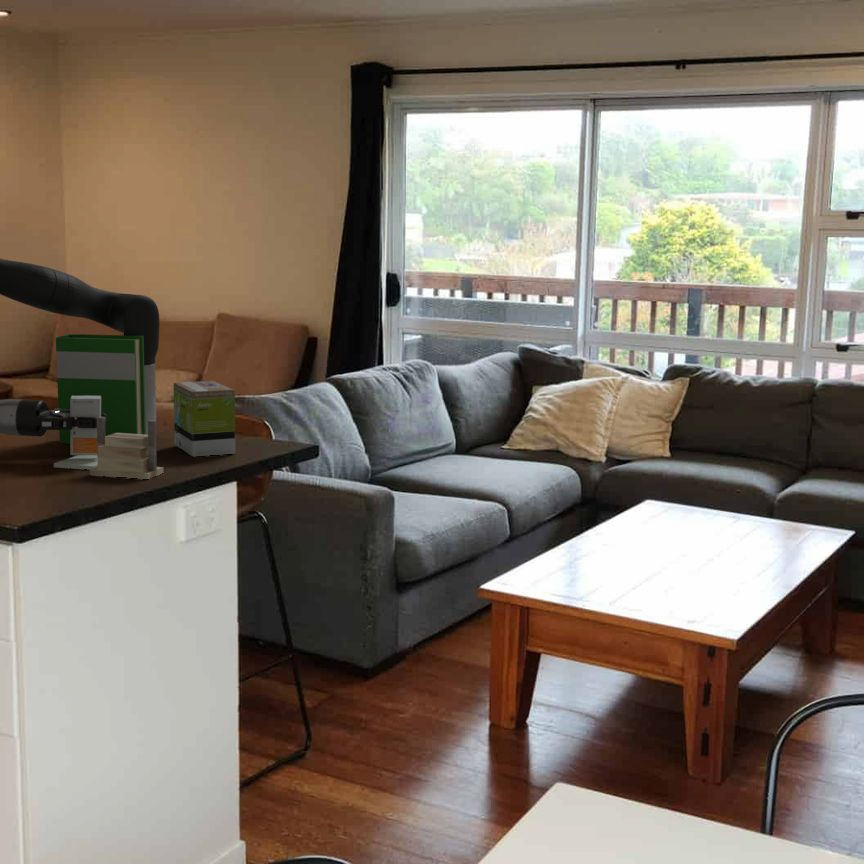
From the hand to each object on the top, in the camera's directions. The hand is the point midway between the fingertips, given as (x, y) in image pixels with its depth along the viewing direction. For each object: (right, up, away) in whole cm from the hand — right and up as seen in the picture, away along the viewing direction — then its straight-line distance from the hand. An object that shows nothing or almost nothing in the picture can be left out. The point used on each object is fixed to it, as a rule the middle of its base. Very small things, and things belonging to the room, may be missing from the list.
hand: (101, 420), depth 250 cm
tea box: (+18, -7, +19) cm, 27 cm away
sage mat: (-3, -9, +2) cm, 9 cm away
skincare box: (-3, -7, +1) cm, 8 cm away
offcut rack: (+8, -11, -9) cm, 16 cm away
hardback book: (-7, -5, +27) cm, 28 cm away
